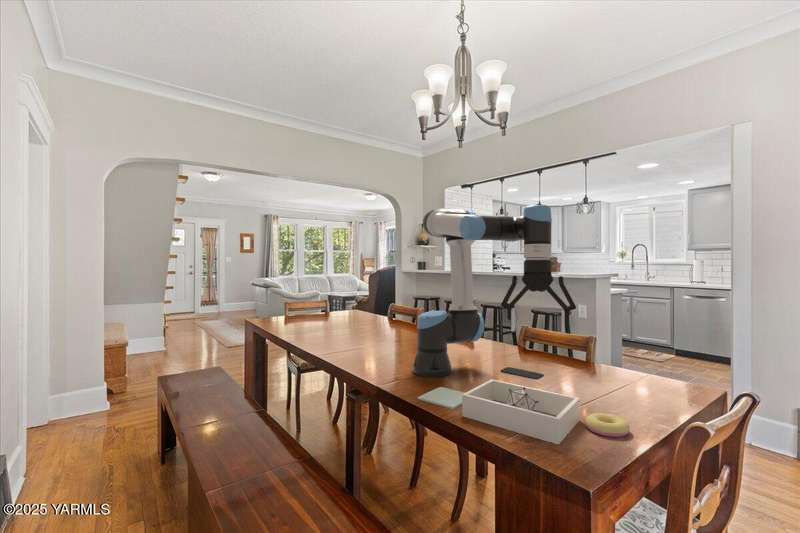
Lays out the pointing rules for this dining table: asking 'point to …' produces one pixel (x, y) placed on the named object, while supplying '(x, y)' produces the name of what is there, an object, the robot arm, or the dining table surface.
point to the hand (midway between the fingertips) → (537, 332)
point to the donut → (607, 425)
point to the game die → (521, 399)
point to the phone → (522, 373)
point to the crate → (523, 410)
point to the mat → (443, 397)
